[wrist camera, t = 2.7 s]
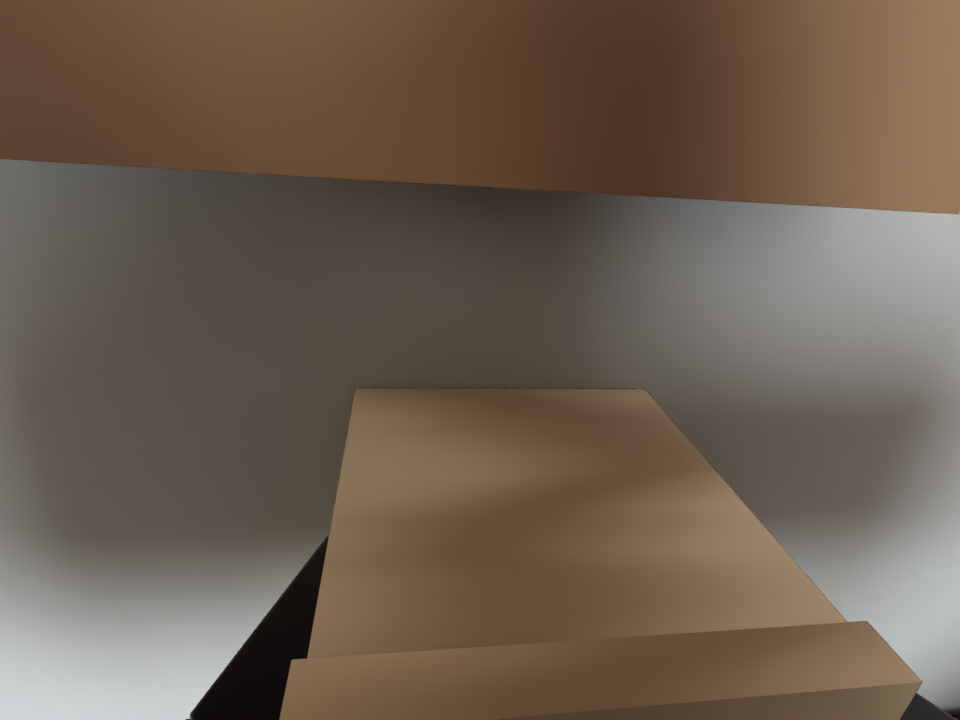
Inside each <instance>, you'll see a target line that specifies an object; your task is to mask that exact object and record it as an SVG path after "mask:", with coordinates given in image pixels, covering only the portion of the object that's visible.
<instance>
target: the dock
mask: <svg viewBox="0 0 960 720" xmlns="http://www.w3.org/2000/svg"><path fill="white" fill-rule="evenodd" d="M0 159H12V160H30V161H47V162H64V163H82V164H99V165H116V166H133V167H151V168H168V169H185V170H203V171H220V172H237V173H254V174H272V175H289V176H306V177H324V178H341V179H358V180H375V181H393V182H410V183H427V184H445V185H462V186H479V187H496V188H514V189H531V190H548V191H566V192H583V193H600V194H617V195H635V196H652V197H669V198H686V199H704V200H721V201H738V202H756V203H773V204H790V205H807V206H825V207H842V208H859V209H877V210H894V211H911V212H928V213H946V214H959V213H960V0H0Z"/></svg>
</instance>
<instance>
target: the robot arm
mask: <svg viewBox="0 0 960 720" xmlns="http://www.w3.org/2000/svg"><path fill="white" fill-rule="evenodd" d="M328 539H329V535H328V536H327V537H326V538H325V540H324V541H323V542H322V543H321V545H320V546H319V547H318V549H317V550H316V551H315V553H314V554H313V555H312V556H311V558H310V559H309V560H308V562H307V563H306V564H305V566H304V567H303V568H302V569H301V571H300V572H299V573H298V575H297V576H296V577H295V578H294V580H293V581H292V582H291V584H290V585H289V586H288V588H287V589H286V590H285V591H284V593H283V594H282V595H281V597H280V598H279V599H278V601H277V602H276V603H275V604H274V606H273V607H272V608H271V610H270V611H269V612H268V613H267V615H266V616H265V617H264V619H263V620H262V621H261V623H260V624H259V625H258V626H257V628H256V629H255V630H254V632H253V633H252V634H251V636H250V637H249V638H248V639H247V641H246V642H245V643H244V645H243V646H242V647H241V649H240V650H239V651H238V652H237V654H236V655H235V656H234V658H233V659H232V660H231V661H230V663H229V664H228V665H227V667H226V668H225V669H224V671H223V672H222V673H221V674H220V676H219V677H218V678H217V680H216V681H215V682H214V684H213V685H212V686H211V687H210V689H209V690H208V691H207V693H206V694H205V695H204V696H203V698H202V699H201V700H200V702H199V703H198V704H197V706H196V707H195V708H194V709H193V711H192V712H191V713H190V719H186V720H279V719H280V714H281V709H282V704H283V699H284V694H285V690H286V685H287V680H288V675H289V670H290V665H291V661H292V660H294V659H307V656H308V650H309V645H310V639H311V634H312V628H313V622H314V617H315V611H316V606H317V600H318V595H319V589H320V583H321V578H322V572H323V567H324V561H325V556H326V550H327V545H328ZM900 720H960V718H954V717H952V716H950V715H949V714H947V713H946V712H944V711H943V710H941V709H940V708H938V707H937V706H935V705H934V704H932V703H931V702H929V701H928V700H926V699H925V698H923V697H922V696H920V695H919V694H917V693H916V694H915V695H914V697H913V699H912V700H911V702H910V703H909V705H908V707H907V708H906V710H905V712H904V713H903V715H902V717H901V718H900Z"/></svg>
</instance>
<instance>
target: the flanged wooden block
mask: <svg viewBox="0 0 960 720" xmlns="http://www.w3.org/2000/svg"><path fill="white" fill-rule="evenodd" d="M921 684H922V681H921V680H920V679H919V678H918V676H917V675H916V674H915V673H914V672H913V671H912V670H911V669H910V668H909V667H908V665H907V664H906V663H905V662H904V661H903V660H902V659H901V658H900V657H899V656H898V654H897V653H896V652H895V651H894V650H893V649H892V648H891V647H890V646H889V645H888V643H887V642H886V641H885V640H884V639H883V638H882V637H881V636H880V635H879V634H878V632H877V631H876V630H875V629H874V628H873V627H872V626H871V625H870V624H869V623H868V622H867V621H860V622H847V621H846V620H845V618H844V617H843V616H842V615H841V614H840V613H839V612H838V610H837V609H836V608H835V607H834V606H833V605H832V604H831V602H830V601H829V600H828V599H827V598H826V597H825V595H824V594H823V593H822V592H821V591H820V590H819V589H818V587H817V586H816V585H815V584H814V583H813V582H812V581H811V579H810V578H809V577H808V576H807V575H806V574H805V573H804V571H803V570H802V569H801V568H800V567H799V566H798V564H797V563H796V562H795V561H794V560H793V559H792V558H791V556H790V555H789V554H788V553H787V552H786V551H785V550H784V548H783V547H782V546H781V545H780V544H779V543H778V541H777V540H776V539H775V538H774V537H773V536H772V535H771V533H770V532H769V531H768V530H767V529H766V528H765V527H764V525H763V524H762V523H761V522H760V521H759V520H758V519H757V517H756V516H755V515H754V514H753V513H752V512H751V510H750V509H749V508H748V507H747V506H746V505H745V504H744V502H743V501H742V500H741V499H740V498H739V497H738V496H737V494H736V493H735V492H734V491H733V490H732V489H731V487H730V486H729V485H728V484H727V483H726V482H725V481H724V479H723V478H722V477H721V476H720V475H719V474H718V473H717V471H716V470H715V469H714V468H713V467H712V466H711V465H710V463H709V462H708V461H707V460H706V459H705V458H704V456H703V455H702V454H701V453H700V452H699V451H698V450H697V448H696V447H695V446H694V445H693V444H692V443H691V442H690V440H689V439H688V438H687V437H686V436H685V435H684V433H683V432H682V431H681V430H680V429H679V428H678V427H677V425H676V424H675V423H674V422H673V421H672V420H671V419H670V417H669V416H668V415H667V414H666V413H665V412H664V411H663V409H662V408H661V407H660V406H659V405H658V404H657V402H656V401H655V400H654V399H653V398H652V397H651V396H650V394H649V393H648V392H647V391H646V390H645V389H407V388H356V389H355V394H354V400H353V405H352V411H351V417H350V422H349V428H348V433H347V439H346V444H345V450H344V456H343V461H342V467H341V472H340V478H339V483H338V489H337V494H336V500H335V506H334V511H333V517H332V522H331V528H330V533H329V539H328V545H327V550H326V556H325V561H324V567H323V572H322V578H321V583H320V589H319V595H318V600H317V606H316V611H315V617H314V622H313V628H312V634H311V639H310V645H309V650H308V656H307V659H294V660H292V661H291V665H290V670H289V675H288V680H287V685H286V690H285V694H284V699H283V704H282V709H281V714H280V719H279V720H900V718H901V717H902V715H903V713H904V712H905V710H906V708H907V707H908V705H909V703H910V702H911V700H912V699H913V697H914V695H915V694H916V692H917V690H918V689H919V687H920V685H921Z"/></svg>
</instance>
